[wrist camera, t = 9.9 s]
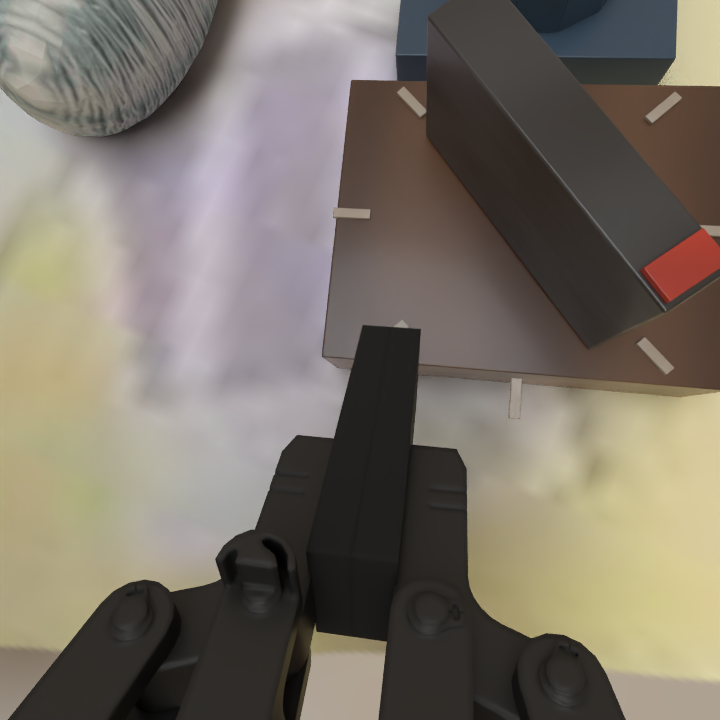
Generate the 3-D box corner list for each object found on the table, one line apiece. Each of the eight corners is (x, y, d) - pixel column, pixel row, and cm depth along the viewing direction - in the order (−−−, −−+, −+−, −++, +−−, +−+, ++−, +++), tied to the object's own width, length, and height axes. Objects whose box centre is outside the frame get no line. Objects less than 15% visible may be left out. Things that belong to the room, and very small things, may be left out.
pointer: (424, 135, 20) (425, 8, 14) (468, 104, 20) (489, -36, 14) (588, 350, 19) (670, 311, 13) (637, 318, 19) (742, 263, 13)
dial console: (330, 404, 23) (313, 400, 19) (362, 95, 25) (352, 38, 21) (683, 437, 21) (735, 439, 18) (691, 102, 23) (742, 41, 19)
